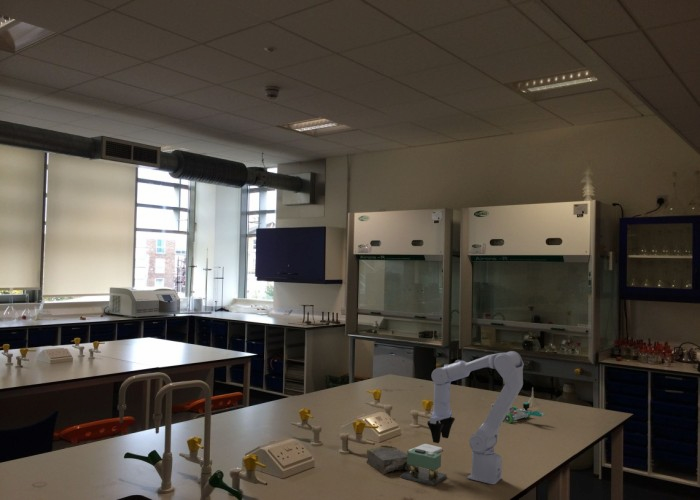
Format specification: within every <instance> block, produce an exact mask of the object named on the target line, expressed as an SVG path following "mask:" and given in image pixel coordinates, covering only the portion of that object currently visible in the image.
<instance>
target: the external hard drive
mask: <svg viewBox="0 0 700 500" xmlns="http://www.w3.org/2000/svg"><path fill="white" fill-rule="evenodd" d="M414 448H415V449H420V450H425V451H428V452H433V453H437V454H439V453H440V452H442V451H443V450H444V449H443V447H441V446H437V445H434V444H433V445H432V444H428V443H423V444H420V445H418V446H416V447H413V448H410V449H408V450H407V452H408V451H410V450H412V449H414ZM407 452H406V453H407Z"/></svg>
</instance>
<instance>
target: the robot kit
mask: <svg viewBox="0 0 700 500" xmlns="http://www.w3.org/2000/svg"><path fill="white" fill-rule="evenodd" d="M494 403H495V402H494ZM494 403H493V402H492V403H491V406H490V408H491V409H492V407H493V405H494ZM531 416H534V417H540V418H541V417H542V416H544V417H545V416H546V413H545V412H543V411H540V410H531V409H530V403H529V402H523V403H522V408H518V407H517V406H511V408H510V409H509V411H508V413H507V415H506V417H505V418H504V420H503V421H504V422H505V423H506V424H511V423H513V422H514V421H518V420H520V419H523V418H524V417H525V418H524V419H528V418H530V417H531Z"/></svg>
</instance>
